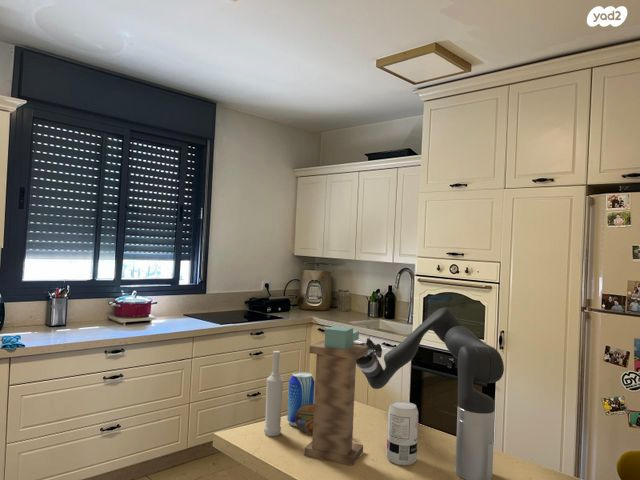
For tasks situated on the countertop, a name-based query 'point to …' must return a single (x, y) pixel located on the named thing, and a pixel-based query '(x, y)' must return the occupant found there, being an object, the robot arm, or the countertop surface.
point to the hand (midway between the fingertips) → (354, 339)
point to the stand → (334, 404)
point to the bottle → (274, 399)
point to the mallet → (340, 337)
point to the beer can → (299, 393)
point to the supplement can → (402, 433)
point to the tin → (305, 418)
